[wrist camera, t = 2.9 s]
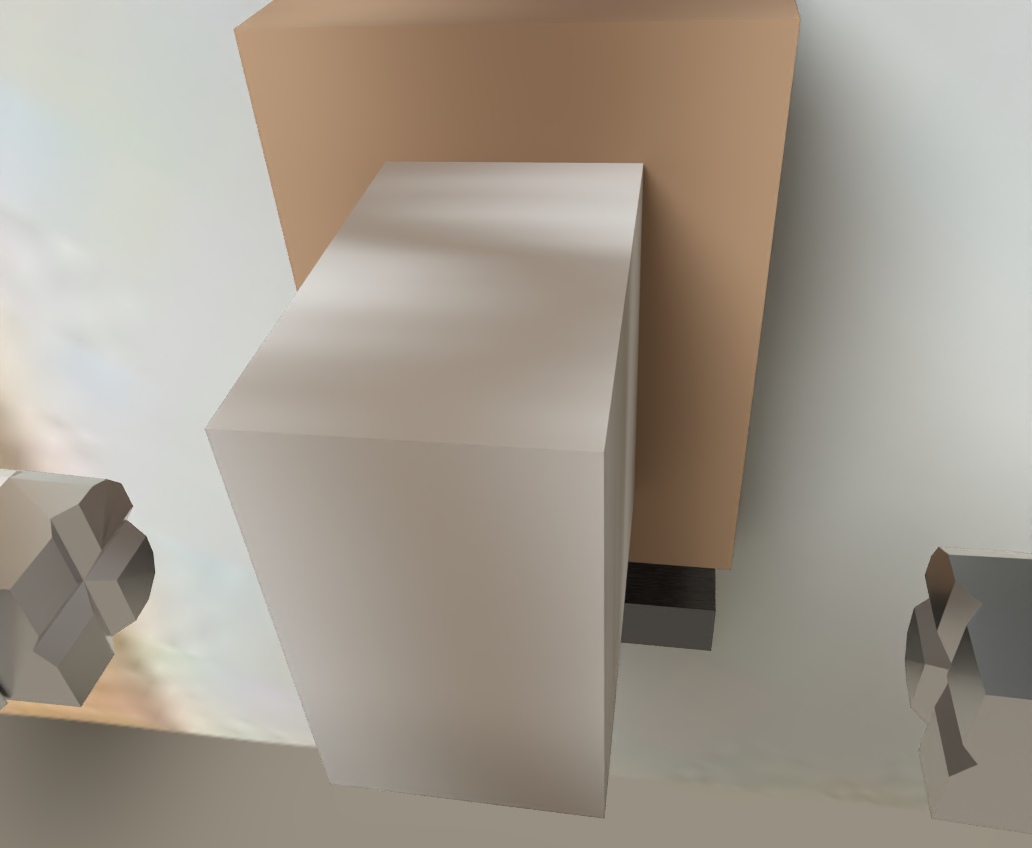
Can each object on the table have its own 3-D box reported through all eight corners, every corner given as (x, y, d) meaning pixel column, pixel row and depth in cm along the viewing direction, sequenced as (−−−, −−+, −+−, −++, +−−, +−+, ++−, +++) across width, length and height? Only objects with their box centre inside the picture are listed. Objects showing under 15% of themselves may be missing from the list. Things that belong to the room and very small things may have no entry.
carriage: (404, 426, 17) (236, 835, 11) (322, -36, 12) (-62, 243, 6) (727, 445, 16) (739, 903, 10) (781, -50, 11) (868, 267, 5)
